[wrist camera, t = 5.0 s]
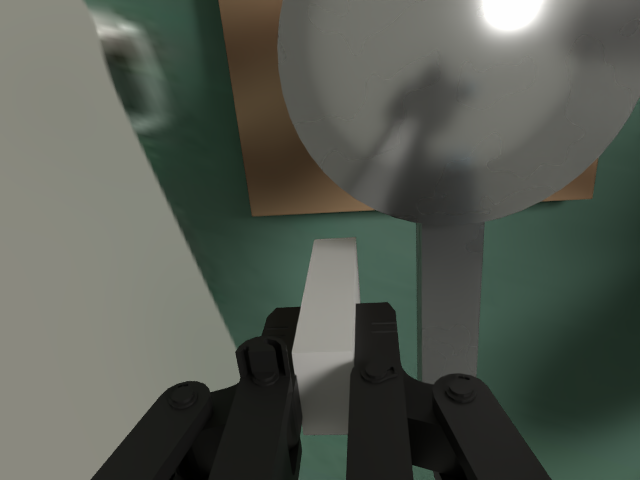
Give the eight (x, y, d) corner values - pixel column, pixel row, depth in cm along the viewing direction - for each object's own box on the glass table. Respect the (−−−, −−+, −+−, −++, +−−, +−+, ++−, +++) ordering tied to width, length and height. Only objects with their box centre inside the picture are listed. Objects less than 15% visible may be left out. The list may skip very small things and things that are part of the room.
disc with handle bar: (548, 359, 21) (586, 435, 17) (328, 364, 22) (321, 437, 18) (696, -811, 9) (901, -1306, 6) (221, -693, 10) (147, -1057, 7)
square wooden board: (581, 188, 28) (680, 276, 19) (257, 206, 30) (213, 293, 21) (639, -241, 20) (848, -420, 12) (199, -180, 22) (92, -294, 13)
